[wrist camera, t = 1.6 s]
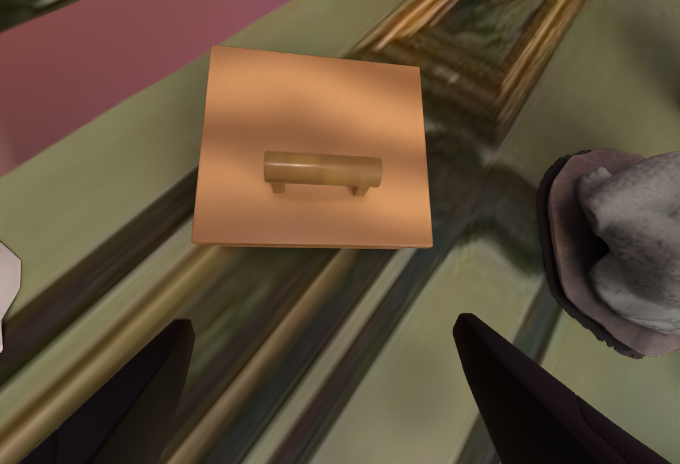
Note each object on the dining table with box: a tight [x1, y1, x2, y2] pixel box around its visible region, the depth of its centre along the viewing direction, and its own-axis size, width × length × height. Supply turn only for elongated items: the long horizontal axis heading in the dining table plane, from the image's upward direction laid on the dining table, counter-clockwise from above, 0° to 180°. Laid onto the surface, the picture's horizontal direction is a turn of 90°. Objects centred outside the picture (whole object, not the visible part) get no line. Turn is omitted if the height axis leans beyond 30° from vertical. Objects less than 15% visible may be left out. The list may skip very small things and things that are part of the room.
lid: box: [191, 45, 433, 248], centre depth 17 cm, size 13×15×5 cm
